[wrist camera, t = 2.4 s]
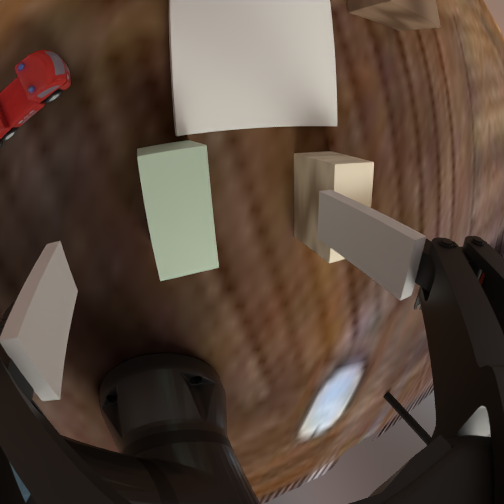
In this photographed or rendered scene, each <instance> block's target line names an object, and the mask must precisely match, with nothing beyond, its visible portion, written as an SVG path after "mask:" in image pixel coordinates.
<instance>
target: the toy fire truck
mask: <svg viewBox="0 0 504 504" xmlns="http://www.w3.org/2000/svg"><path fill="white" fill-rule="evenodd" d="M15 71H16V74H17V76H18V77H17V78H16V79H14V80H13V81H12V82H11V83H10V84H9V85H8V86H7V87H6V88H5V89H4V90H3V91H2V92H0V139H2V141H6V140H8V139H9V138H11V137H12V136H13V135H14V134H15V133H16V131H17V130H16V127H20V126H22V124H24V123H25V122H26V121H27V120H28V119H29V118H31V117H32V116H33V115H34V114H35V113H37V112H38V111H39V110H40V109H42V108H43V107H44V106H45V103H49V102H52V101H53V100H55V99H56V98H58V97H59V96H60V95H61V93H62V91H63V90H66V89H67V88H68V87H70V85H71V77H70V72H69V69H68V67H67V65H66V63H65V62H64V61H63V60H62V59H61V58H60V57H59V56H58V55H57V54H56V53H54V52H52V51H49V50H39V51H36V52H34V53H32V54H30V55H28V56H27V57H26V58H24V59H23V60H22V61H21V62H20V63H18V64H17V65H16V66H15ZM1 146H2V142H1V140H0V147H1Z"/></svg>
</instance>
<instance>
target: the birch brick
mask: <svg viewBox="0 0 504 504" xmlns="http://www.w3.org/2000/svg"><path fill="white" fill-rule="evenodd" d="M373 170H374V162H371V161H368V160H364V159H360V158H356V157H352V156H348V155H344V154H340V153H336V152H331V151H325V152H307V153H294V237H296V238H297V239H298V240H300V241H301V242H302V243H304V244H305V245H306V246H307V247H309V248H310V249H311V250H313V251H314V252H315V253H317V254H318V255H319V256H321V257H322V258H323V259H324V260H326V261H327V262H328V263H332V262H336V261H339V260H342V259H345V258H344V257H343V256H341V255H340V254H338V253H337V252H336V251H334V250H333V249H332V248H330V247H329V246H328V245H326V244H325V243H323V242H322V241H321V240H319V239H318V238H317V232H318V211H319V191H324V190H333V191H335V192H337V193H340V194H342V195H344V196H346V197H348V198H351V199H353V200H355V201H357V202H359V203H361V204H363V205H365V206H368V207H370V208H371V198H372V186H373Z"/></svg>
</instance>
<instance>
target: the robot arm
mask: <svg viewBox="0 0 504 504" xmlns="http://www.w3.org/2000/svg"><path fill="white" fill-rule="evenodd" d="M317 238H318V239H319V240H321V241H322V242H323V243H325V244H326V245H328V246H329V247H330V248H332V249H333V250H334V251H336V252H337V253H338V254H340V255H341V256H343V257H344V258H345V259H347V260H348V261H349V262H351V263H352V264H353V265H355V266H356V267H357V268H359V269H360V270H361V271H363V272H364V273H365V274H367V275H368V276H369V277H370V278H372V279H373V280H374V281H376V282H377V283H378V284H380V285H381V286H382V287H383V288H385V289H386V290H387V291H389V292H390V293H391V294H392V295H394V296H395V297H396V298H397V299H399V300H402V299H405V298H407V297H409V296H411V295H412V292H413V288H414V285H415V283H417V284H418V285H419V286H420V289H419V292H418V296H417V299H416V302H415V305H414V309H416V308H417V306H418V305H419V304H421V306H420V309H419V310H422V314H423V319H424V324H425V329H426V335H427V340H428V347H429V353H430V360H431V367H432V376H433V385H434V395H435V408H436V427H435V430H434V433H433V435H432V438H431V442H430V444H429V445H427V446H426V447H425V448H424V449H423V450H421V451H420V452H419V453H418V454H416V455H415V456H414V457H413V458H411V459H410V460H409V461H408V462H407V463H406V464H405V465H404V466H403V467H402V468H401V469H399V471H397V472H396V473H395V474H394V475H393V476H392V477H390V478H389V479H388V480H387V481H386V482H384V483H383V484H382V485H381V486H380V487H379V488H377V489H376V490H375V491H374V492H373V493H372V494H371V495H370V496H369V497H368V498H365V499H362V500H360V501H356V502H353V503H350V504H504V258H503V257H502V256H501V255H500V254H499V253H498V252H497V251H495V250H494V249H493V248H492V247H491V246H490V245H489V244H488V243H487V242H485V241H484V240H483V239H481V238H480V237H477V236H467V237H466V238H465V241H464V245H463V247H459V246H458V245H457V244H456V243H455V242H453V241H451V240H449V239H447V238H434V239H433V240H432V242H431V241H429V240H428V239H426V236H424V235H423V234H421V233H419V232H417V231H415V230H413V229H411V228H409V227H408V226H406V225H404V224H402V223H400V222H398V221H396V220H394V219H392V218H390V217H388V216H386V215H384V214H382V213H380V212H378V211H376V210H374V209H372V208H370V207H368V206H365V205H363V204H361V203H359V202H357V201H355V200H353V199H351V198H348V197H346V196H344V195H342V194H340V193H337V192H335V191H333V190H324V191H319V211H318V232H317ZM482 271H483V272H484V274H485V277H484V279H483V282H482V285H480V283H479V281H478V280H479V277H480V275H481V272H482ZM77 293H78V290H77V287H76V285H75V282H74V279H73V277H72V274H71V271H70V268H69V266H68V263H67V260H66V257H65V254H64V251H63V247H62V244H61V241H57V242H53V243H49V244H47V245H46V246H45V248H44V250H43V251H42V253H41V255H40V256H39V258H38V260H37V262H36V263H35V265H34V267H33V269H32V270H31V272H30V274H29V276H28V278H27V280H26V282H25V284H24V285H23V287H22V289H21V291H20V293H19V295H18V297H17V300H16V302H13V303H12V304H11V305H10V307H9V308H8V309H7V310H6V312H5V314H4V316H3V318H2V321H1V322H0V504H260V503H259V501H258V499H257V497H256V495H255V493H254V492H253V490H252V488H251V486H250V484H249V482H248V480H247V478H246V476H245V474H244V472H243V470H242V468H241V466H240V464H239V461H238V459H237V457H236V455H235V453H234V451H233V449H232V446H231V444H230V442H229V439H228V437H227V415H226V394H225V390H224V388H223V385H222V383H221V381H220V378H219V376H218V374H217V373H216V371H215V370H214V369H213V368H212V367H211V366H209V365H208V364H206V363H205V362H203V361H201V360H199V359H196V358H193V357H190V356H186V355H181V354H172V353H158V354H149V355H143V356H139V357H136V358H132V359H130V360H127V361H125V362H123V363H121V364H119V365H117V366H116V367H114V368H113V369H112V370H111V371H110V372H109V373H108V374H107V375H106V376H105V377H104V379H103V381H102V383H101V385H100V391H99V393H100V409H101V413H102V416H103V418H104V420H105V422H106V425H107V427H108V429H109V431H110V433H111V435H112V437H113V439H114V441H115V443H116V445H117V447H118V449H119V451H120V453H117V452H113V451H109V450H106V449H102V448H99V447H95V446H92V445H89V444H86V443H82V442H79V441H76V440H74V439H71V438H68V437H65V436H62V435H60V434H59V433H58V432H57V430H56V429H55V428H54V427H53V425H52V424H51V423H50V422H49V420H48V419H47V418H46V417H45V415H44V414H43V413H42V411H41V410H40V409H39V407H38V406H37V405H36V404H35V402H34V401H33V400H32V397H33V390H34V391H35V393H36V394H37V395H38V396H39V398H40V399H41V400H42V401H49V400H59V399H60V396H61V385H62V376H63V368H64V361H65V354H66V348H67V342H68V336H69V330H70V325H71V320H72V315H73V311H74V306H75V302H76V297H77ZM490 433H491V437H487V436H488V435H489V434H490Z"/></svg>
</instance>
